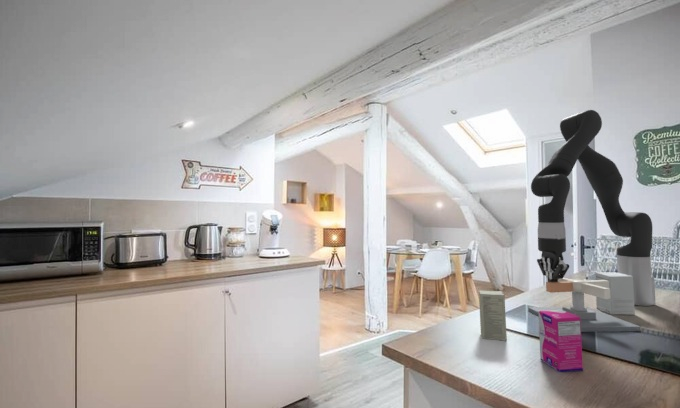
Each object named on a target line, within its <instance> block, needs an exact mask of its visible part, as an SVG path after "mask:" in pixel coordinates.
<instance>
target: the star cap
mask: <svg viewBox="0 0 680 408" xmlns="http://www.w3.org/2000/svg"><path fill="white" fill-rule="evenodd" d="M545 289H546V290H545V292H547V293H572V292H578V293H584V295H585V294H586V295H589V296H593V297H600V298H604V299H610V288H609V281H607V280H594V279H593V280H592V279H590V280H589V279H588V280H581V279H571V278H567V277H563V279H558V282H548V281H545Z"/></svg>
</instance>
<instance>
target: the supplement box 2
mask: <svg viewBox="0 0 680 408" xmlns="http://www.w3.org/2000/svg"><path fill="white" fill-rule="evenodd" d="M594 279H595V280H607V281H609V288H610V299H604V298H600V297H596V296H595V297H596V298H595V300H596V301H595V302H596V304H595V305H596V309H598V310H599V311H601V312H603V313H606V314H607V313H608V315H611V316H613V315H635V314H636V312H635V311H636V310H635V305H634V289H633V276H630V275H626V274H621V273H618V272H615V271H614V272H612V271H611V272H595V273H594Z"/></svg>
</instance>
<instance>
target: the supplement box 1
mask: <svg viewBox="0 0 680 408" xmlns="http://www.w3.org/2000/svg"><path fill="white" fill-rule="evenodd" d="M538 314H539V316H538V333H539V350H540V351H539V353H540V354H539V355H540V356H539V357H540V361H541V362H543V363H545V364H546V365H548V366H549V367H551V368H553V369H554V370H555V371H556V372H558V373H564V372H565V373H566V372H567V373H568V372H582V371H584V364H583V363H584V362H583V343H582V332H581V321H580V317H578V316H576V315H573V314H571V313H568V312H566V311H563V310H561V309H558V310H544V311H538Z"/></svg>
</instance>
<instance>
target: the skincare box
mask: <svg viewBox="0 0 680 408" xmlns="http://www.w3.org/2000/svg"><path fill="white" fill-rule="evenodd" d="M505 298H506V297H505V293H504V292H503V291H502V290H481V289H480V290H478V299H479V301H478V302H479V304H478V305H479V320H480V321H479V322H480V323H479V324H480V335H481V338H482V339H487V340H496V341H497V340H498V341H507V340H508V339H507V338H508V337H507V321H506V319H507V318H506V317H507V316H506V299H505Z"/></svg>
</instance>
